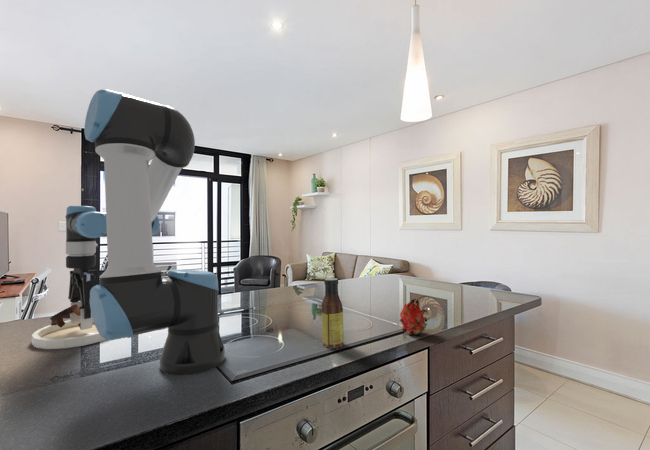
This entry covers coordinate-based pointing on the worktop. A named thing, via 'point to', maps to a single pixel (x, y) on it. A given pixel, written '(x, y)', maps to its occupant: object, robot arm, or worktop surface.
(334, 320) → the sauce bottle
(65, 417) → the worktop surface
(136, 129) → the robot arm
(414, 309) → the dragon fruit
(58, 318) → the brown jagged angular piece
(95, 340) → the shallow round plate
